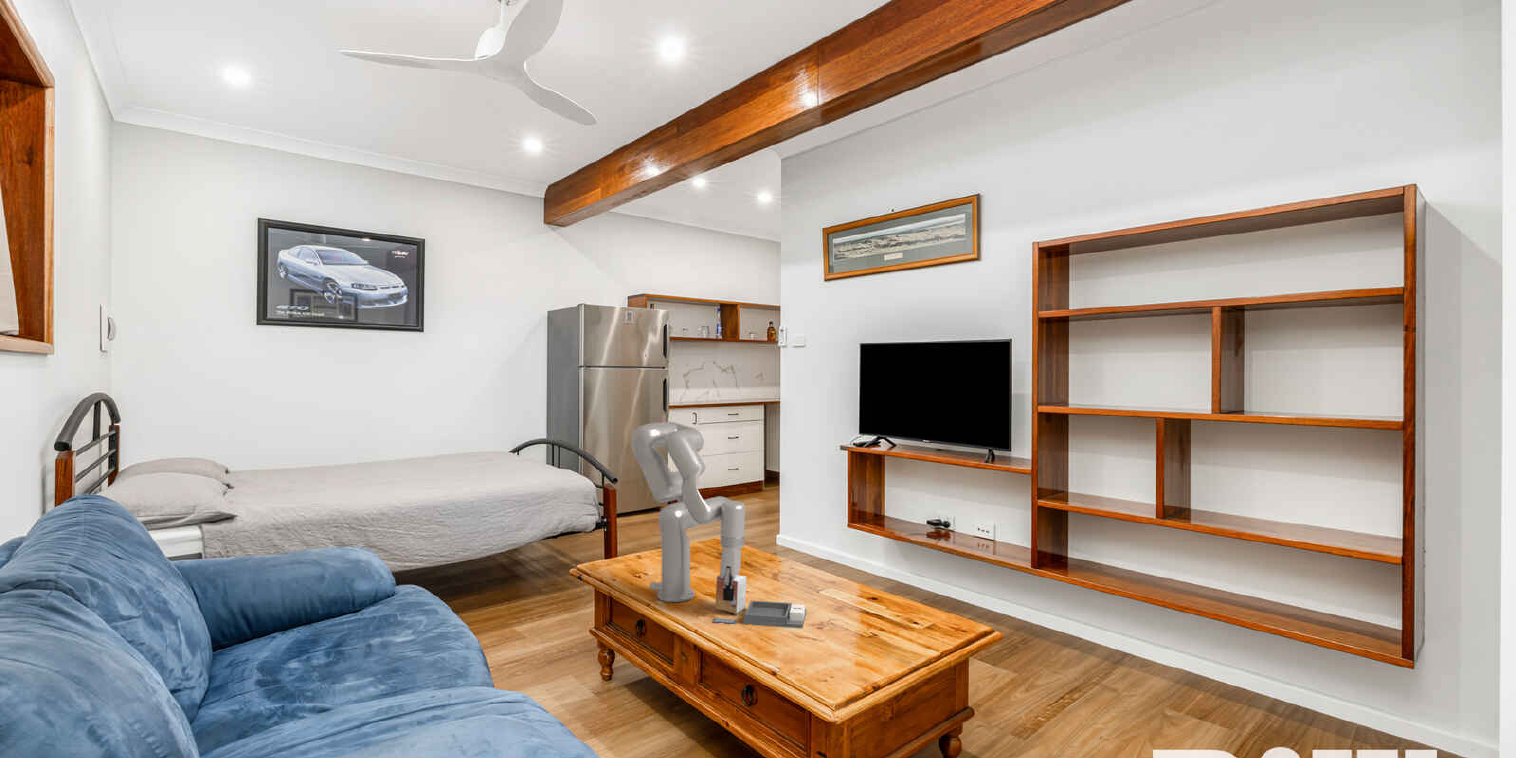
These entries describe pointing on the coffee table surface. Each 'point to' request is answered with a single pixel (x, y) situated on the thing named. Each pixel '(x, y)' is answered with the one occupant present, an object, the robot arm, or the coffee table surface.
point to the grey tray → (775, 614)
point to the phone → (724, 621)
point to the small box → (739, 595)
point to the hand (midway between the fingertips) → (730, 595)
